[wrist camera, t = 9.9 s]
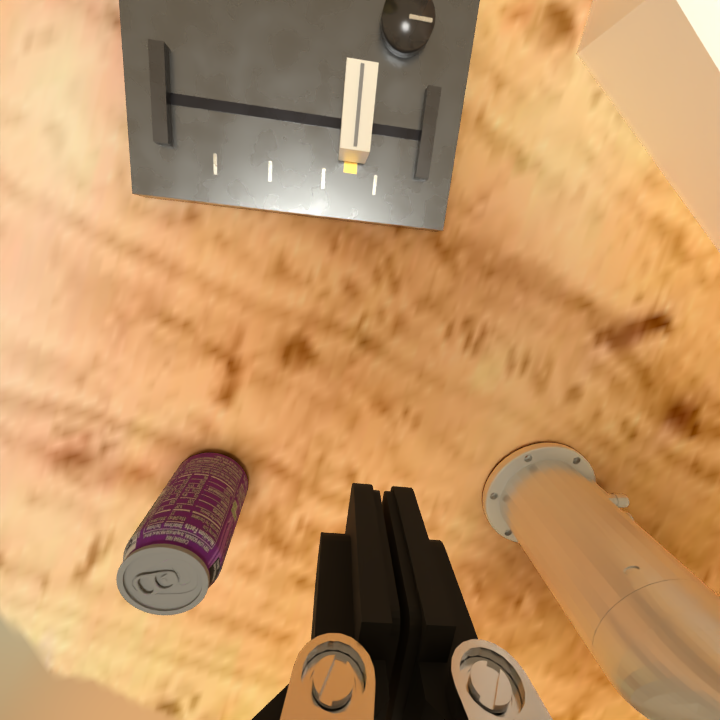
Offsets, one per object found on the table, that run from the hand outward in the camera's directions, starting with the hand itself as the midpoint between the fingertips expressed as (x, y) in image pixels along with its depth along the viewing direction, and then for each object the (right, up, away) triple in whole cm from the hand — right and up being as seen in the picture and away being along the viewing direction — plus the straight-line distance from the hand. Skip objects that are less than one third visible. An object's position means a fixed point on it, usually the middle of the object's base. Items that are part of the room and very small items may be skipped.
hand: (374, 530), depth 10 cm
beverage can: (-15, -7, +27) cm, 32 cm away
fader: (-1, +22, +16) cm, 27 cm away
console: (-5, +25, +18) cm, 31 cm away
